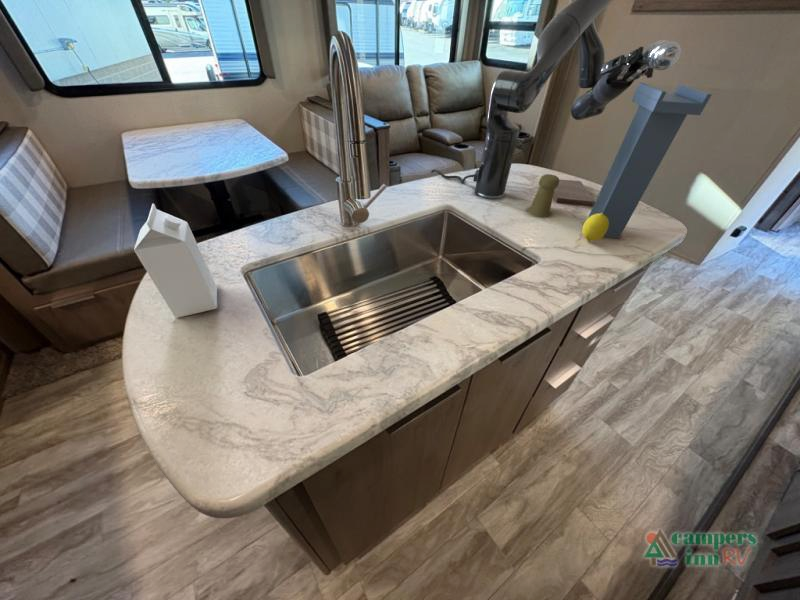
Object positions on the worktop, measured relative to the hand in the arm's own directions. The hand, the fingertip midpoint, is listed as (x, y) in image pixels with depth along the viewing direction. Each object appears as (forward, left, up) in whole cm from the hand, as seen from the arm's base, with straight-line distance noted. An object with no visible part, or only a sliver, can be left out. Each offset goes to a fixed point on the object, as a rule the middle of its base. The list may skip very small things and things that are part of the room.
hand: (647, 51), depth 78 cm
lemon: (0, -26, -39) cm, 47 cm away
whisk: (0, -2, -3) cm, 4 cm away
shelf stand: (+4, -18, -39) cm, 43 cm away
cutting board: (-4, +6, -39) cm, 39 cm away
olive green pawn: (-13, -13, -39) cm, 43 cm away
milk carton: (-75, -82, -39) cm, 118 cm away
